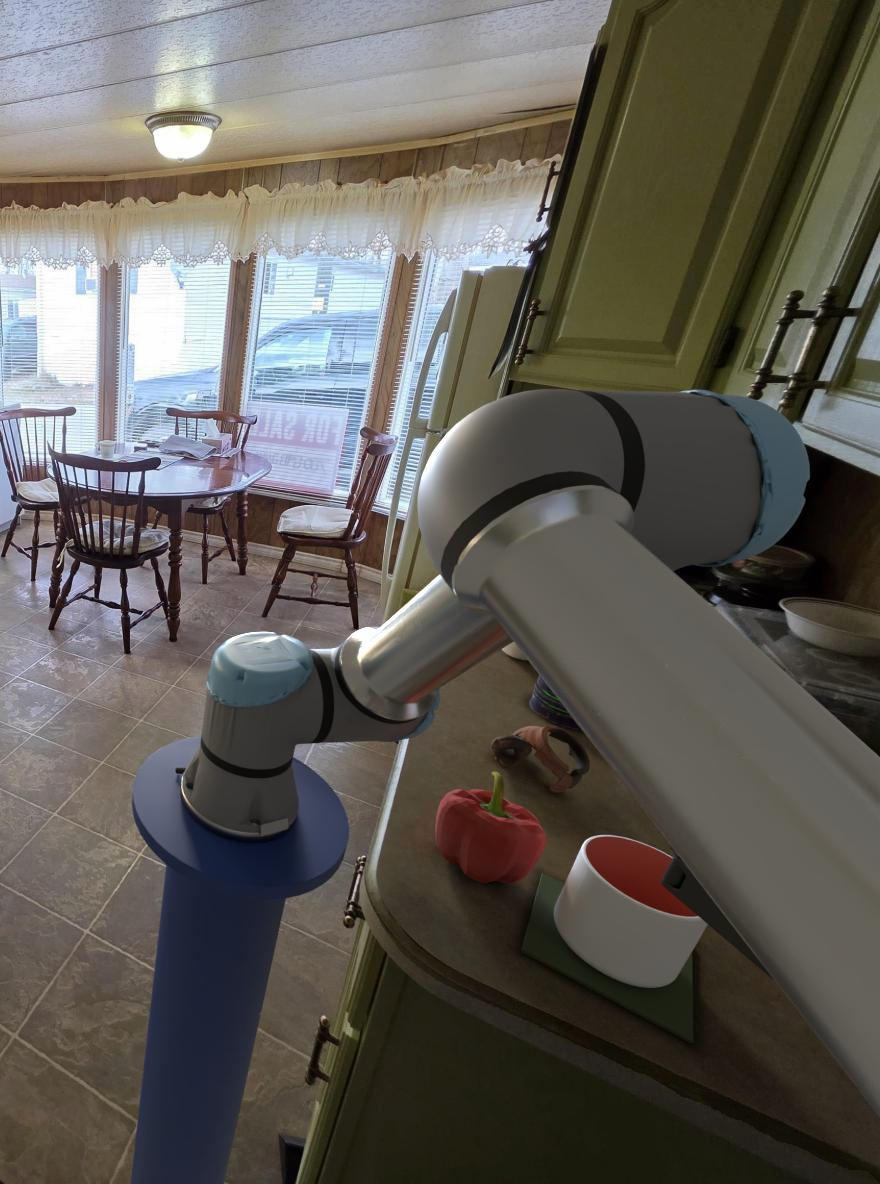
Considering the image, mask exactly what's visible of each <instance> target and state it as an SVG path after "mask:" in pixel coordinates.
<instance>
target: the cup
mask: <svg viewBox="0 0 880 1184" xmlns="http://www.w3.org/2000/svg"><path fill="white" fill-rule="evenodd" d="M673 857H674V856H671V855H669V854H667V853H666V852H664V851H662V850H660V849H659V848H656V847H653V846H651V845H649V844H646V843H645V842H644V843H643V842H642V841H639V840H635V839H632V838H629V837H624V836H619V835H613V834H600V835H593V836H591V837H589V838H587V839H586V840H584V842H583V843H582V844H581V848H580V849H579V851H578V854H577V855H576V858H575V860H574V862H573V865H572V867H571V869H570V872H569V873H568V876H567V877H566V880H565V882H564V883H565V885H564V887H563V889H562V891H561V894H560V896H559V898H558V900H557V902H556V905H555V908H554V920H555V924H556V927H557V929H558V931H559V933H560V935H561V936H562V938H563V939H564V941H565V942H566V943H567V945H568V946H569V947H570V948H571V949H572V950H573V951H574V952H575V953H576V954H577V955H578V956H579V957H580V958H581V959H583V960H584V961H585V962H586V963H588V964H589V965H591V966H592V967H593V968H595V969H596V970H598V971H600V972H601V973H603V974H605V975H607V976H609V977H611V978H613V979H615V980H618V981H620V982H623V983H626V984H629V985H633V986H638V987H645V988H657V987H662V986H666V985H668V984H670V983H671V982H673V981H674V980H675V979H676V978H677V976H678V974H679V973H680V971H681V969H682V968H683V966H684V964H685V963H686V961H687V959H688V958H689V956H690V954H691V952H692V953H693V951H694V949H695V948H696V946H697V944H698V942H699V941H700V939H701V937H702V936H703V934H704V933H705V930H706V929H707V927H708V926H709V925H708V924H707V923H706V922H705V921H703V920H702V919H701V918H700V917H699V916H698V915H696V914H695V913H694V912H693V911H692V910H691V909H689V908H688V907H687V906H686V905H685V904H683V903H682V902H681V901H680V900H679V899H678V898H676V897H675V896H674V895H673V894H672V893H670V892H669V891H668V890H667V889H666V888H665V887H664V886H663V885H662V884H661V879H662V877H663V876H664V874H665V872H666V870H667V868H668V866H669V864H670V862H671V860H672V859H673Z"/></svg>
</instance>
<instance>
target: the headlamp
mask: <svg viewBox="0 0 880 1184" xmlns="http://www.w3.org/2000/svg"><path fill="white" fill-rule="evenodd" d="M548 737H551V738H553V739H556V740H558V741H560V742H562V743H564V744H567V745H568V749H569V751H568V753H567V754H568V755H569V756H570V757H572V758H573V759H574V761H575V764H576V767H577V768H574V769H573V770H571V772H569V771H570V766H569V765H568V764H567V763H566V762H564V761H563V760H562V759H560V758H559V756H558V755H557V754H556V753H555V752H554V750H553V749H552V747H551V746H550V743H549V740H548ZM533 749H534V750H535V751H536V752H534V754H533V756H534V757H535V758H536V759H538V760H539V761H540V763H541V764H542V765H543V766H545V767H546V768H547V769H548V770H549V771H550V772H551V773H552V774H553V775H554V776H555V777H557V778H558V779H557V781H556V782H555V783H553V785H551V786H550V787H549V791H551V792H553V793H554V794H560V793H562V792H565V791H566V790H567V789H569V790H570V789H573V788H574V787H576V786H577V785H578V784H579V783H580V782H581V780H582V778H583V775H586V774H587V773H589V771H590V769H591V767H590V766H591V762H590V761H591V760H590V759H589V755H588V753H587V751H586V748H584V746H583V745H582V744H581V742H580V741H579V740H578V739H577V738H576V737H575V736H574V735H573V734H572V733H570V731H568V730H566V729H565V728H563V727H560V726H559V725H558V726H557V725H552V724H547V725H545V726H539V725H538V726H537V725H529V726H528V725H527V726H524V727H521V728H519V729H516V730H515V731H514V732H513V733H512V734H507V735H506V734H505V735H500V736H497V737H495V738H494V739H493V740H492V741H491V746H490V750H491V753H492V755H493V757H494V759H495V760H496V761H497V762H499V763H500V764H501V766H503V767H504V768H506V769H507V770H509V769H511V768H512V767H513V766H514V765H515V764H516V763H518V762H519V761H521V760H523V759H526V758H527V757H528V756H529V755H530V754H531V753H532V751H533Z"/></svg>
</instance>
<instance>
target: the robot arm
mask: <svg viewBox="0 0 880 1184" xmlns="http://www.w3.org/2000/svg"><path fill="white" fill-rule="evenodd" d="M810 471H811V470H810V461H809V455H808V452H807V449H806V446H805V443H804V441H803V439H802V437H801V435H800V434H799V432H798V431H797V429H796V427H795V426H794V425H793V424H792V422H791V421H789V419H788V418H787V417H785V416H784V414H782V413H781V412H780V411H778V410H777V409H775V407H772V406H770V405H768V404H766V403H764V402H762V401H761V400H757V399H755V398H751V397H747V396H742V395H732V394H721V393H717V392H715V391H711V390H707V389H687V390H682V391H647V390H646V391H642V390H582V389H581V390H579V389H578V390H575V389H565V388H543V389H542V388H541V389H533V390H525V391H520V392H517V393H513V394H509V395H506V396H503V397H500V398H499V399H496V400H493V401H490V402H489V403H485V404H484V405H482V406H480V407H478V408H477V409H475V410H474V411H472V412H470V413H469V414H467V415H466V416H465V417H463V418H462V419H461V420H460V421H458V422H457V423H456V424H455V425H454V426H453V427H452V428H451V429H450V430H449V431H448V432H447V433H446V434H445V435H444V436H443V437H442V438H441V440H440V442H439V443H438V444H437V445H436V447H435V448H434V450H433V451H432V452H431V454H430V456H429V458H428V460H427V463H426V464H425V466H424V469H423V471H422V474H421V478H420V482H419V487H418V493H417V502H416V503H417V504H416V505H417V507H416V509H417V516H418V517H417V518H418V529H419V531H420V534H421V537H422V539H423V543H424V546H425V549H426V551H427V554H428V556H429V558H430V560H431V562H432V563H433V566H434V567H435V569H436V571H437V572H438V576H436V577H435V578H434V579H433V580H431V582H429V583H428V584H427V585H426V586H425V587H424V588H423V589H422V590H420V591H419V592H418V593H417V594H416V595H415V596H414V597H412V598H411V599H410V600H409V601H408V602H407V603H406V604H404V606H403V607H401V608H400V609H399V610H398V611H397V612H396V613H395V614H393V615H392V616H391V617H390V618H389V619H388V620H387V621H386V622H384V624H382V625H381V626H368V627H364V628H361V629H359V630H357V631H355V632H353V633H352V634H351V635H350V636H349V637H348V638H346V639H345V640H344V641H343V642H342V643H341V644H339V646H337V647H334V648H309V647H308V646H307V645H306V644H305V643H304V642H303V641H301V640H299V639H297V638H295V637H293V636H290V635H287V634H282V635H278V634H277V633H276V632H271V631H255V632H253V631H252V632H248V633H247V632H246V633H243V634H238V635H236V636H233V637H230V638H229V639H226V640H225V641H224V642H223V643H222V644H221V645H220V646H219V647H217V648H216V649H215V651H214V653H213V656H212V658H211V662H210V668H209V672H208V675H207V678H206V681H205V682H206V683H205V684H206V685H205V687H206V693H205V702H204V703H205V704H204V711H203V718H202V726H201V734H200V737H201V742H200V745H199V746H198V748H197V750H196V752H195V754H194V755H193V757H192V759H191V761H190V762H189V764H188V766H187V768H184V767H176V769H175V772H176V774H183V777H182V782H181V792H180V793H181V800H182V803H183V806H184V808H185V809H186V811H187V812H188V814H189V815H190V816H191V817H192V818H193V819H194V820H195V821H196V822H197V823H198V824H199V825H200V826H202V827H203V828H205V829H206V830H208V831H210V832H211V833H213V834H215V835H218V836H220V837H223V838H225V839H229V840H232V841H237V842H243V843H264V842H269V841H273V840H276V839H278V838H280V837H282V836H284V835H285V834H286V833H288V832H289V831H290V830H291V829H292V827H293V826H294V824H295V821H296V817H297V813H298V807H299V800H298V794H297V788H296V783H295V778H294V773H293V768H292V760H293V757H294V754H295V750H296V746H297V745H307V744H308V745H309V744H329V743H331V744H332V743H360V742H363V743H364V742H381V743H395V742H400V741H403V740H408V739H413V738H415V737H418V736H419V735H421V734H423V733H424V732H425V731H426V730H428V729H429V727H430V726H431V725H432V724H433V723H434V720H435V719H436V713H435V712H434V711H435V710H438V709H439V707H440V703H441V691H440V690H441V689H440V688H441V687H444V686H445V685H447V684H448V683H449V682H451V681H452V680H454V679H456V678H457V677H459V676H461V675H463V674H464V673H466V672H467V671H469V670H471V669H473V668H474V667H475V666H477V665H479V664H480V663H482V662H484V661H485V660H486V659H489V658H490V657H491V656H493V655H495V654H496V653H498V652H499V651H501V650H502V649H503V648H504V647H506V646H507V645H509V644H511V643H512V642H515V644H516V645H517V646H518V648H519V649H520V650H521V651H522V653H523V654H524V655H525V657H526V658H527V659H528V660H527V661H528V662H529V663H530V664H531V666H532V668H533V669H534V670H535V671H536V672H537V674H538V676H539V675H540V676H541V677H542V679H543V680H544V681H545V683H546V684H547V685H548V687H549V688H550V689H551V690H552V692H553V693H554V694H555V696H556V697H557V698H558V700H559V701H560V702H561V703H562V705H563V706H564V707H565V709H566V710H567V711H568V713H569V714H570V715H571V716H572V718H573V719H574V720H575V722H576V723H577V724H578V726H579V727H580V728H581V729H582V730H581V731H582V732H583V733H584V735H585V736H586V737H587V739H588V740H589V741H590V742H591V744H592V746H593V747H594V748H595V749H596V751H597V752H598V753H599V755H600V756H601V757H602V759H604V761H605V762H606V763H607V765H608V766H609V767H610V769H612V771H613V773H614V774H615V775H616V777H617V778H618V779H619V780H620V782H621V783H622V784H623V785H624V787H625V788H626V789H627V791H628V792H629V793H630V794H631V796H632V797H633V798H634V800H635V801H636V803H637V804H638V806H640V808H641V809H642V810H643V812H644V813H645V814H646V815H647V817H648V818H649V819H650V820H651V823H653V824H654V826H655V827H656V828H657V830H658V831H659V832H660V833H661V835H662V836H663V837H664V839H665V840H666V841H667V844H668V846H669V848H670V849H671V851H672V852H673V853H674V855H673V856H672V857H673V859H672V860H671V862H670V864H669V866H668V868H667V870H666V872H665V874H664V876H663V877H662V879H661V884H662V885H663V886H664V887H665V888H666V889H667V890H668V891H669V892H670V893H672V894H673V895H674V896H675V897H676V898H678V899H679V900H680V901H681V902H682V903H683V904H685V905H686V906H687V907H688V908H689V909H691V910H692V911H693V912H694V913H695V914H696V915H698V916H699V917H700V918H701V919H702V920H703V921H705V922H706V923H707V924H708V925H707V926H709V927H710V928H711V929H712V930H714V931H715V932H716V933H717V934H719V935H720V936H721V937H722V938H723V939H724V940H726V941H727V942H728V943H729V944H730V945H732V946H733V947H734V948H735V949H736V950H737V951H738V952H740V953H741V954H742V955H744V956H745V957H746V958H747V959H748V960H749V961H751V962H752V963H753V964H754V965H755V966H756V967H758V968H759V970H761V971H762V972H764V974H765V975H767V976H768V977H770V979H772V980H773V981H774V982H775V983H776V985H778V987H779V989H780V990H781V991H782V992H783V994H784V995H785V996H786V997H787V999H788V1000H789V1001H790V1002H791V1004H792V1005H793V1006H794V1008H795V1009H796V1010H797V1011H798V1013H799V1014H800V1015H801V1017H802V1018H803V1019H804V1021H805V1022H806V1023H807V1025H808V1026H809V1028H811V1030H812V1031H813V1033H814V1034H815V1035H816V1036H817V1038H818V1039H819V1040H820V1042H821V1043H822V1044H823V1046H824V1047H825V1048H826V1050H827V1051H828V1052H829V1053H830V1055H831V1056H832V1057H833V1058H834V1061H836V1063H838V1065H839V1066H840V1068H841V1069H842V1070H843V1071H844V1073H845V1074H846V1076H847V1077H848V1078H849V1079H850V1080H851V1082H852V1083H853V1085H854V1086H855V1087H856V1088H857V1090H858V1091H859V1093H861V1095H862V1096H863V1098H864V1099H865V1101H866V1102H867V1103H869V1104H868V1105H870V1107H871V1108H872V1109H873V1111H874V1112H875V1114H876V1115H877V1116H878V1117H879V1118H880V756H879V755H878V754H877V753H876V752H875V751H874V750H873V749H871V748H870V747H869V746H868V745H867V744H866V743H865V742H864V741H862V740H861V739H860V738H859V737H858V736H857V735H856V734H855V733H854V732H852V731H851V730H850V729H849V728H848V727H847V726H846V725H845V724H843V723H842V721H840V720H839V719H838V718H837V717H836V716H835V715H833V713H831V711H829V710H828V709H827V708H826V707H825V706H824V705H823V704H822V703H820V702H819V701H818V700H817V699H816V698H815V697H813V696H812V694H810V693H809V692H808V691H807V690H806V689H805V688H803V687H802V685H800V684H799V683H798V682H797V681H796V680H795V679H794V678H792V677H791V675H789V674H788V673H787V672H786V671H785V670H783V668H782V667H780V666H779V665H778V664H777V663H776V662H774V661H773V659H772V658H770V657H769V656H768V655H767V654H766V653H765V652H764V651H762V650H761V649H760V648H759V647H758V646H757V645H756V644H755V643H754V642H752V641H751V640H750V639H749V638H748V637H747V636H745V634H744V633H742V632H741V631H740V630H739V629H738V628H737V627H736V626H734V624H732V623H731V622H730V621H729V620H728V619H727V618H726V617H724V616H723V615H722V614H721V613H720V612H719V611H718V610H717V609H716V608H715V607H714V606H713V605H712V604H710V603H709V601H707V600H706V599H705V598H703V597H702V596H701V594H699V593H698V592H697V591H695V590H694V589H693V588H692V587H691V586H690V585H689V584H688V583H687V582H686V581H685V580H684V579H682V578H681V577H680V576H679V575H677V573H675V572H674V571H677V570H679V569H681V568H685V567H688V566H697V567H703V568H704V567H705V568H713V567H714V568H715V567H722V566H725V565H727V564H729V563H730V564H731V563H736V562H740V561H744V560H747V559H750V558H753V557H755V556H758V555H760V554H761V553H763V552H765V551H766V550H768V549H770V548H771V547H773V546H774V545H775V544H776V543H778V542H779V541H780V540H781V539H782V538H784V536H785V535H786V534H787V533H788V532H789V531H790V529H791V528H792V527H793V526H794V525H795V522H797V520H798V518H799V516H800V514H801V512H802V510H803V508H804V506H805V503H806V497H805V496H804V493H805V491H806V486H807V482H808V481H809V480H811V479H810V478H811V474H810V473H811V472H810Z"/></svg>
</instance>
